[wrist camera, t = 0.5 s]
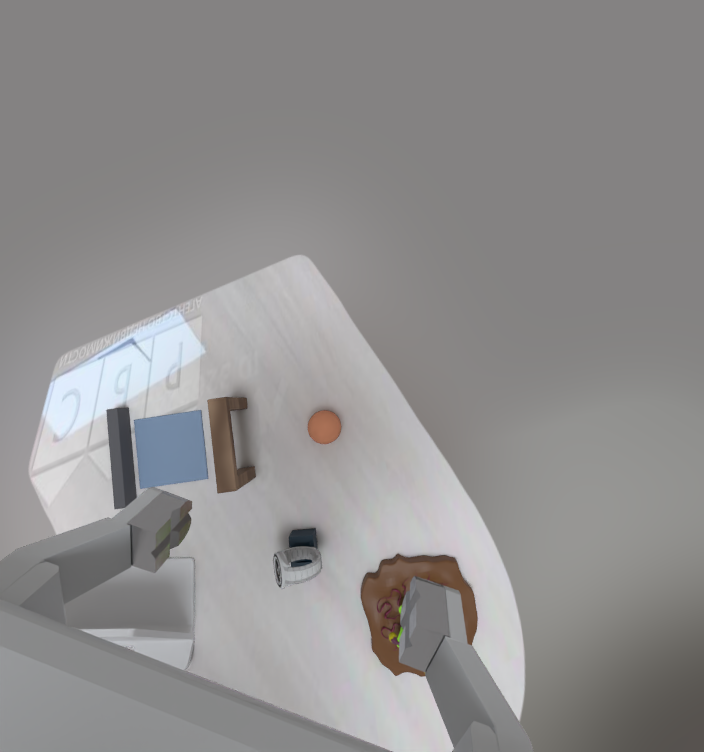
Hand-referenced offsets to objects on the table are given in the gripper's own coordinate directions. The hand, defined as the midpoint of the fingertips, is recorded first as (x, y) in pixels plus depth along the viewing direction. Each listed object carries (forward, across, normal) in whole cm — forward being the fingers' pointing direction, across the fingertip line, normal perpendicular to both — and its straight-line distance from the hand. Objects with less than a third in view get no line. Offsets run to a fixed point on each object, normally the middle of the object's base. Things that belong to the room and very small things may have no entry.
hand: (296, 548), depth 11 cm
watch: (+36, -4, -42) cm, 56 cm away
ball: (+42, -6, -21) cm, 48 cm away
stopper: (+37, -41, -36) cm, 66 cm away
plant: (+35, +19, -47) cm, 62 cm away
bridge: (+42, -21, -28) cm, 54 cm away
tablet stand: (+26, -32, -60) cm, 73 cm away
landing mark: (+39, -34, -33) cm, 61 cm away
